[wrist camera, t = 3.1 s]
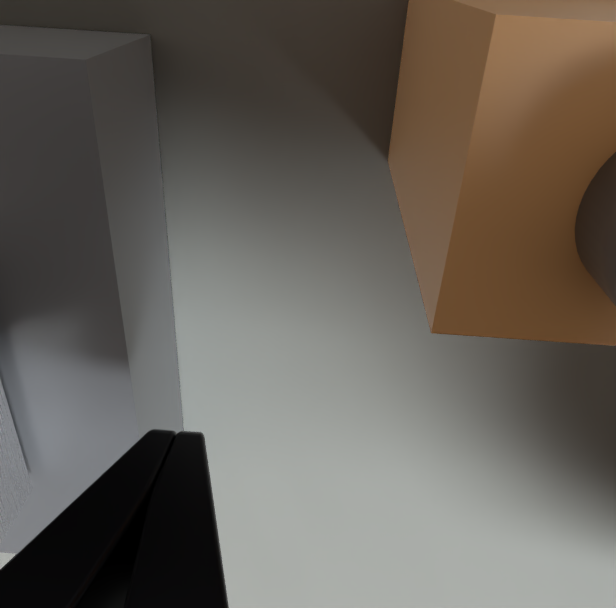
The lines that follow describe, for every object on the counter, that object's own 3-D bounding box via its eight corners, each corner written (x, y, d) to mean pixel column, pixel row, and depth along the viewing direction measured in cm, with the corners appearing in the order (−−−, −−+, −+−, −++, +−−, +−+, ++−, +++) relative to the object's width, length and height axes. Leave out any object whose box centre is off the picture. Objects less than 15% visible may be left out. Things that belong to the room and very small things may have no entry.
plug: (648, 0, 9) (1303, 81, 3) (591, 174, 11) (945, 471, 5) (411, -14, 9) (561, 36, 3) (387, 161, 11) (456, 436, 5)
